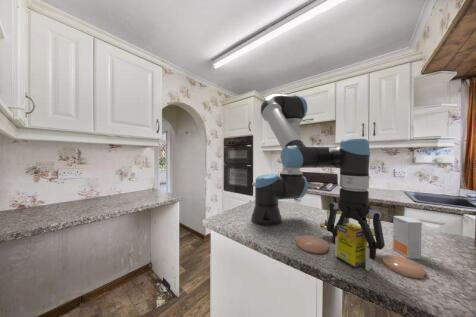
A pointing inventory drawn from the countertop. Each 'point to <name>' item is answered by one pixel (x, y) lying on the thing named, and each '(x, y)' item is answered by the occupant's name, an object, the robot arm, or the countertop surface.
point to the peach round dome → (312, 244)
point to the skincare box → (407, 236)
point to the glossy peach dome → (403, 266)
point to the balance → (324, 225)
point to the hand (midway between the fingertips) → (352, 261)
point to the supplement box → (351, 245)
